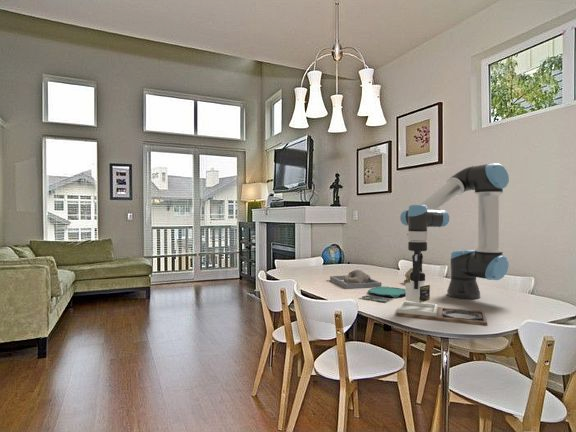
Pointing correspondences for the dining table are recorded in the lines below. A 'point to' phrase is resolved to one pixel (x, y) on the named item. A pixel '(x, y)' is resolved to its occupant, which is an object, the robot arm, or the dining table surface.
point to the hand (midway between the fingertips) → (417, 294)
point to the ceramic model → (408, 276)
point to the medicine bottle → (423, 290)
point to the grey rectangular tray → (358, 285)
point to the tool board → (438, 313)
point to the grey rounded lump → (356, 277)
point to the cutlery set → (384, 293)
